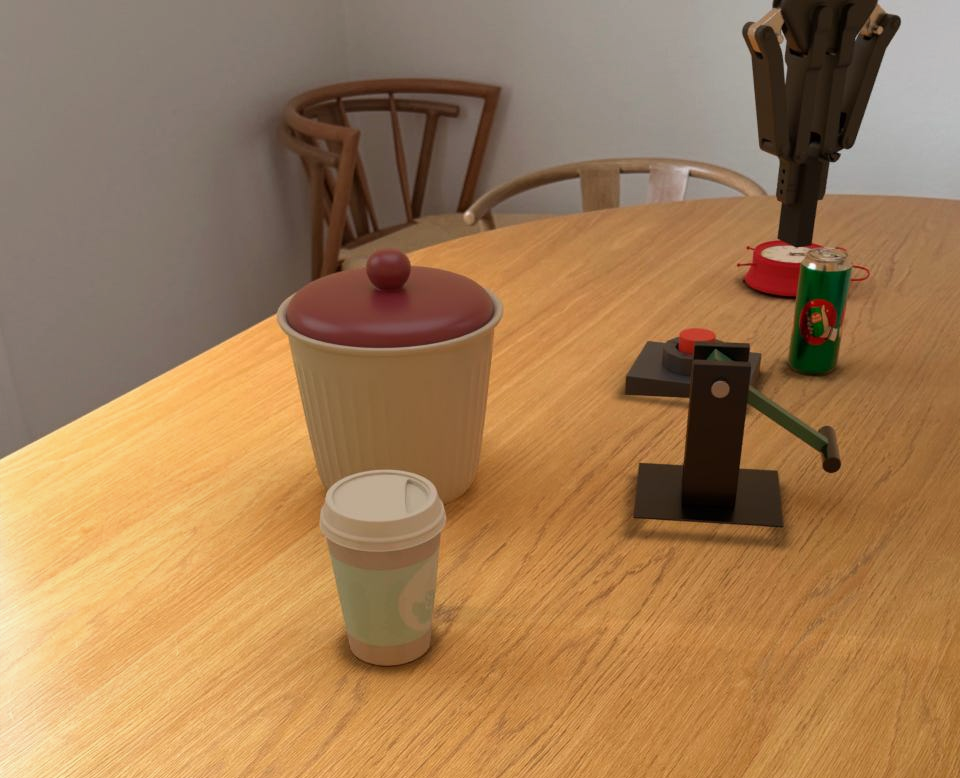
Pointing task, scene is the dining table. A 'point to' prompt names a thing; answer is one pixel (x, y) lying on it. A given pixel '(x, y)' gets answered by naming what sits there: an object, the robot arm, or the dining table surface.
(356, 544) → the coffee cup
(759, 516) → the bracket
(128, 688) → the dining table surface
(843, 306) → the soda can
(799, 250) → the alarm clock
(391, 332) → the canister
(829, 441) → the lever
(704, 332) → the button
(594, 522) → the dining table surface
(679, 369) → the button box
